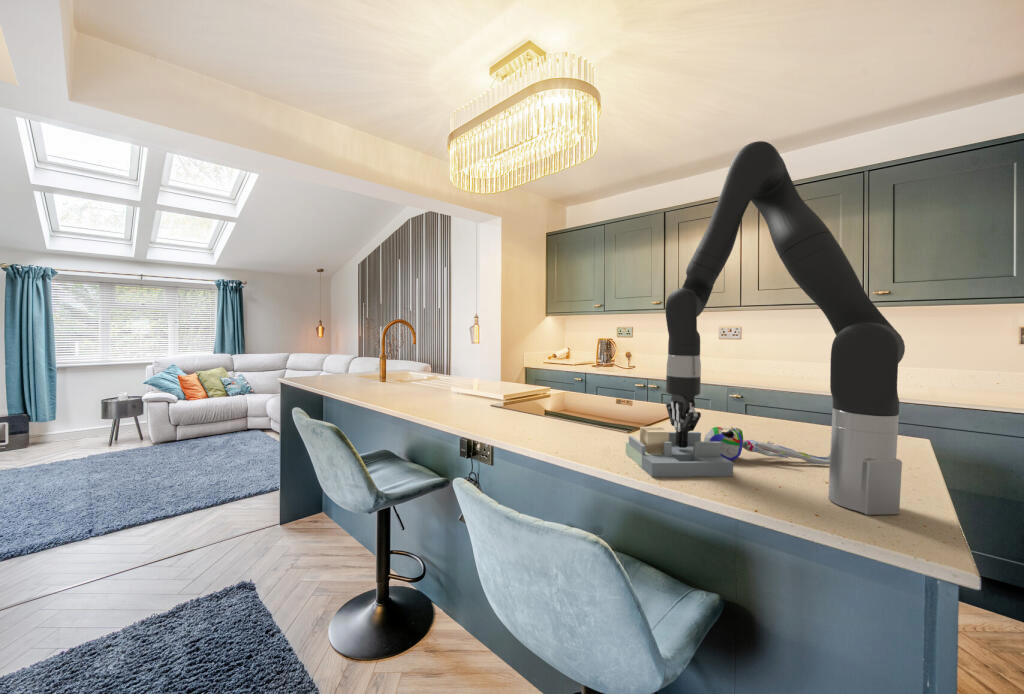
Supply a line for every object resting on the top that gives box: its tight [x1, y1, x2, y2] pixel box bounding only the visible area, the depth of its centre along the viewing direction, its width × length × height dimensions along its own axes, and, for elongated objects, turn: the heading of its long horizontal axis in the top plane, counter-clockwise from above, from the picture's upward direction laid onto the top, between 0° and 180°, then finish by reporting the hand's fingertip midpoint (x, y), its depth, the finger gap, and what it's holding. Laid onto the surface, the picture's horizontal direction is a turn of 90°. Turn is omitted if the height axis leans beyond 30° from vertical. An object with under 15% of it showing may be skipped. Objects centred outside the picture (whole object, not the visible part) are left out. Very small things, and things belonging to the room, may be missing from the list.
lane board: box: [625, 431, 734, 478], centre depth 99 cm, size 17×18×6 cm
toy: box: [702, 426, 830, 466], centre depth 102 cm, size 10×8×30 cm
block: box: [639, 426, 670, 453], centre depth 100 cm, size 5×5×5 cm
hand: (681, 446), depth 100 cm, fingers closed
